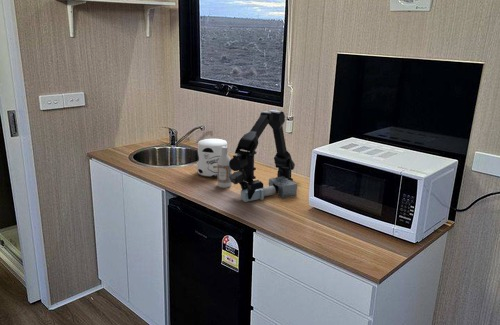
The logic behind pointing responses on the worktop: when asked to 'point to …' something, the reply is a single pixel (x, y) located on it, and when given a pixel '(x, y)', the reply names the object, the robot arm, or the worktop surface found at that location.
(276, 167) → the robot arm
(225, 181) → the bath foam
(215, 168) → the milk container
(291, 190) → the block
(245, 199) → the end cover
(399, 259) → the worktop surface
